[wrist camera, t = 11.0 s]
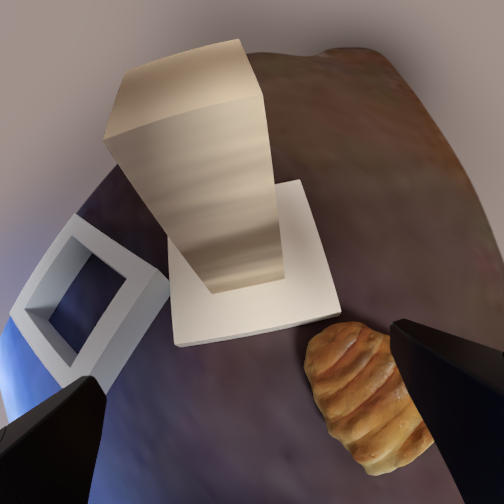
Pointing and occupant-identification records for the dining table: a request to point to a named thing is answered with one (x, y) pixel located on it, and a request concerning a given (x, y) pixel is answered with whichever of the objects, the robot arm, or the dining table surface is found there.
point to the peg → (203, 161)
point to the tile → (258, 296)
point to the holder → (112, 321)
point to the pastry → (365, 397)
